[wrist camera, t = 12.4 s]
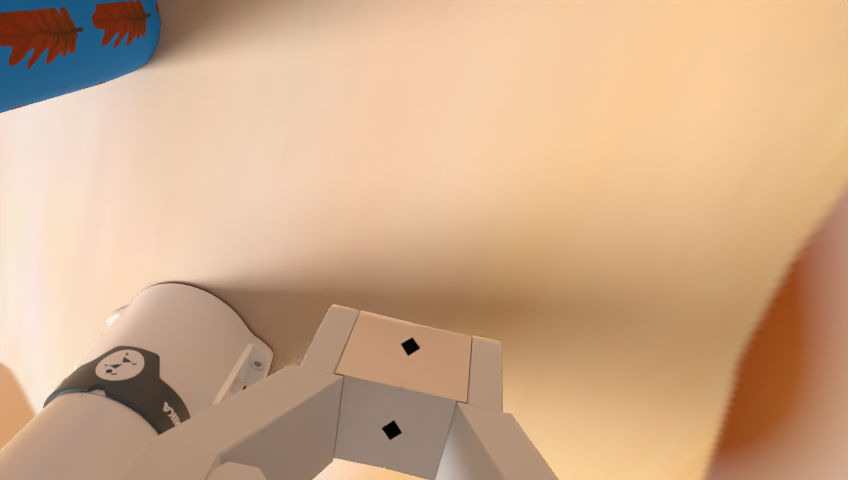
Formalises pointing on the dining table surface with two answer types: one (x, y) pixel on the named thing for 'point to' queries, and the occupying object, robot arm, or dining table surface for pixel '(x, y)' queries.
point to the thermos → (70, 45)
